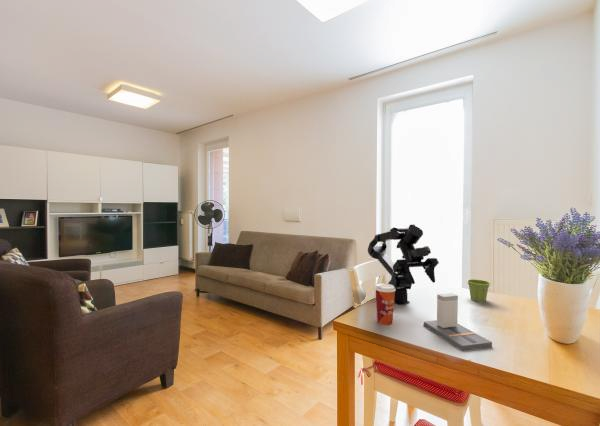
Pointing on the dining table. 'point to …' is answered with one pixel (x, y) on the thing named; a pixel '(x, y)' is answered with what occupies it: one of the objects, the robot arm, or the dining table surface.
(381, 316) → the paper cup
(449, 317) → the fader handle
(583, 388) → the dining table surface
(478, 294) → the plant pot
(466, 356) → the dining table surface
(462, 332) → the fader console
